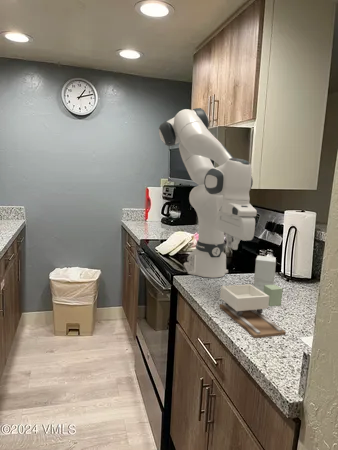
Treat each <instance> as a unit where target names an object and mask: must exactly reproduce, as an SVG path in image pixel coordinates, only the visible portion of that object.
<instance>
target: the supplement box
mask: <svg viewBox="0 0 338 450" xmlns="http://www.w3.org/2000/svg"><path fill="white" fill-rule="evenodd" d="M276 258H277V257H274V256H272V257H271V256H265V255H264V256H263V255H257V256H256V258H255V267H254V277H253V286H254V287H256V288H257V289H259V290H260V291H262V292H264V285H275V275H276V266H277V259H276Z"/></svg>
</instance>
